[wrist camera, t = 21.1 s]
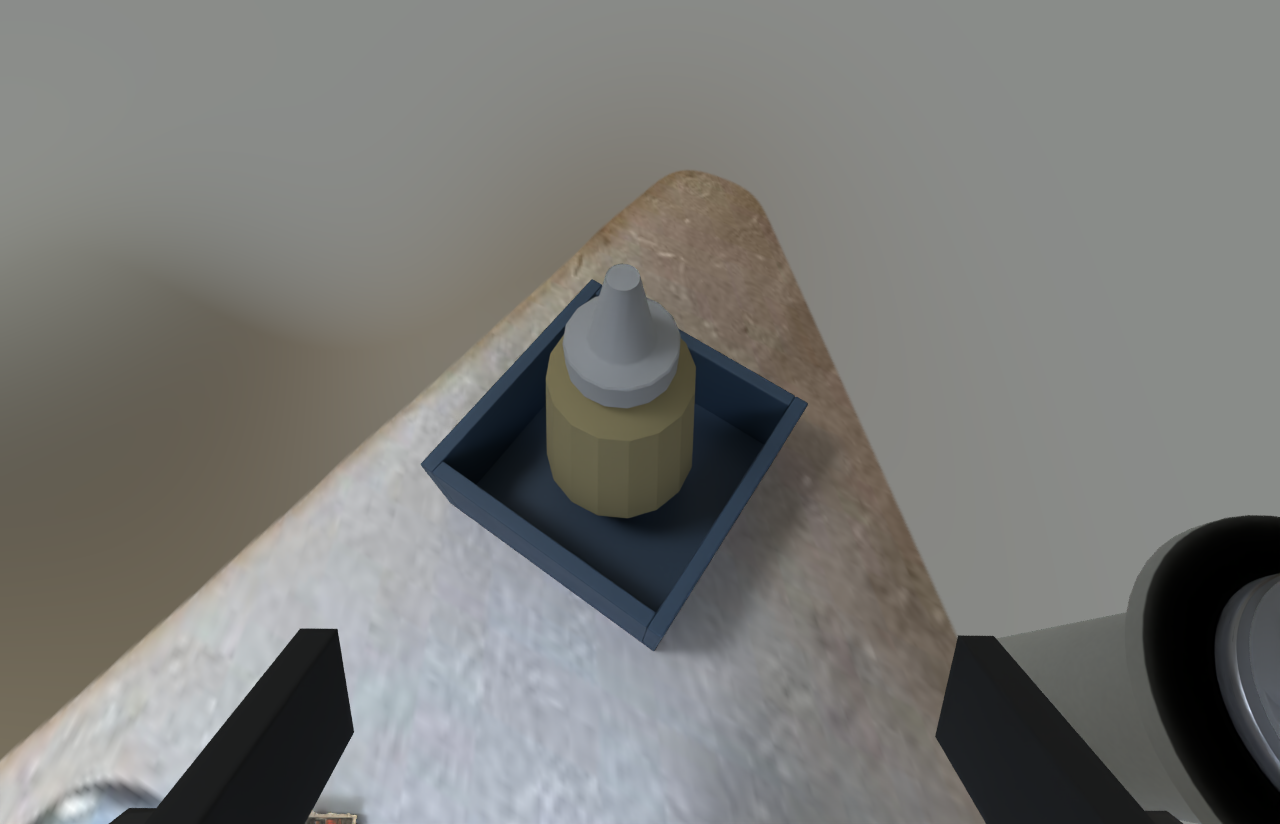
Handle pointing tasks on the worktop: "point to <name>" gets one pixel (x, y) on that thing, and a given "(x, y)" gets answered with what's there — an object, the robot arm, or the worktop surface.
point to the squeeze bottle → (620, 402)
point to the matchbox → (331, 818)
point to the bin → (600, 545)
